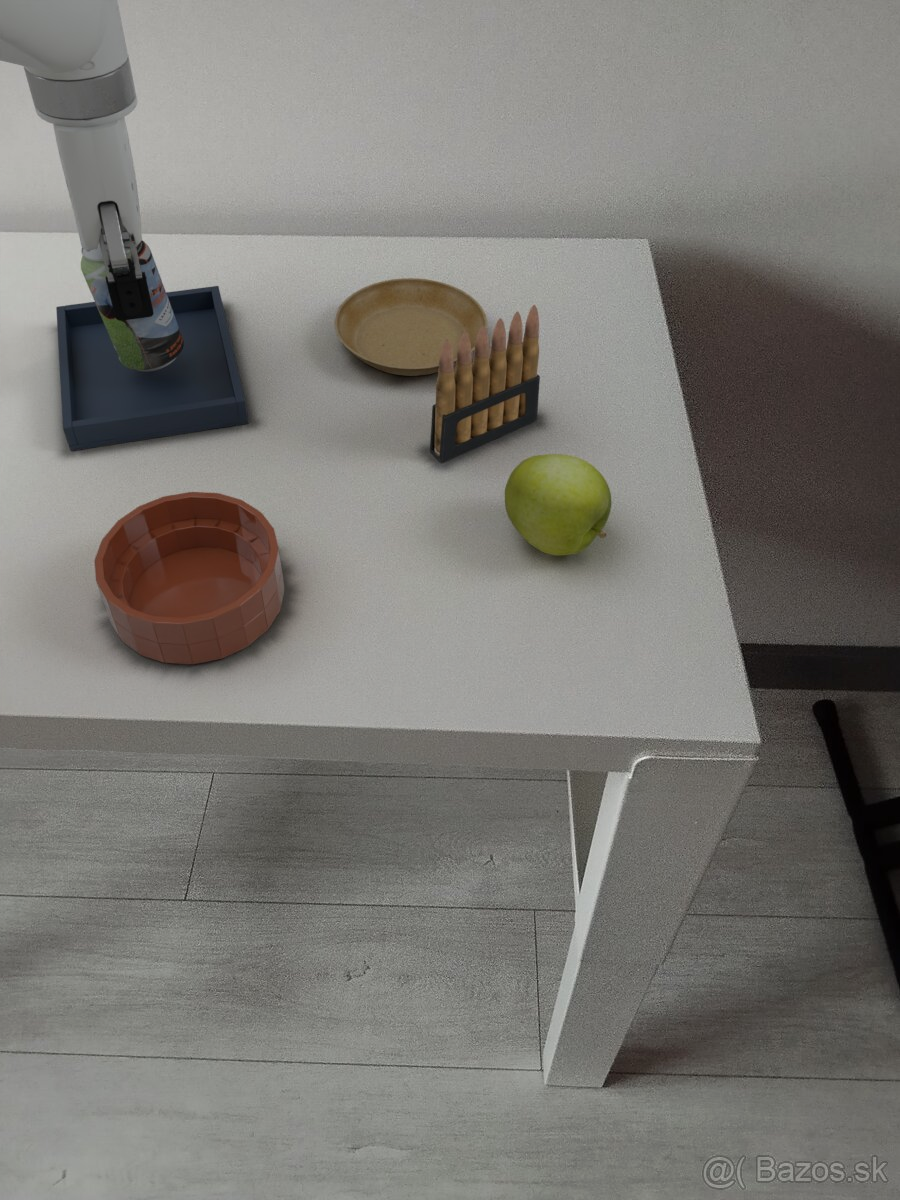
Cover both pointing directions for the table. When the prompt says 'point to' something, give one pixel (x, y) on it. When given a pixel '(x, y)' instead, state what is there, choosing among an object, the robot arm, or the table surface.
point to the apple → (558, 503)
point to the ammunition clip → (486, 388)
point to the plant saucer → (407, 324)
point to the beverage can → (141, 338)
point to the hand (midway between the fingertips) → (131, 293)
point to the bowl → (190, 577)
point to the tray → (148, 377)
